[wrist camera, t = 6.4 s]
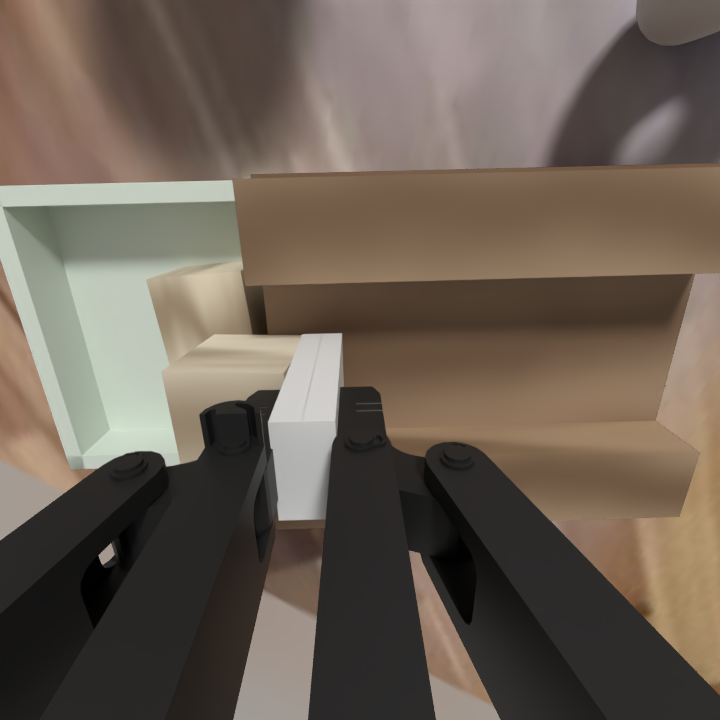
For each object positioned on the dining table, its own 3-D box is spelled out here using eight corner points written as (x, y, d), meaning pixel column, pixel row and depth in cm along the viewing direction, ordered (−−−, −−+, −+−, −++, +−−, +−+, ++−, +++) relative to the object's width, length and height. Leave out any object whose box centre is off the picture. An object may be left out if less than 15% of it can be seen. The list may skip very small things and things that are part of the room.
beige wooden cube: (315, 422, 18) (293, 480, 14) (227, 419, 18) (182, 475, 14) (309, 335, 16) (283, 373, 12) (214, 334, 17) (161, 371, 13)
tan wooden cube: (257, 359, 18) (170, 367, 18) (273, 333, 22) (201, 340, 22) (240, 270, 17) (146, 279, 17) (260, 259, 21) (183, 266, 21)
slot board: (573, 422, 25) (677, 522, 17) (300, 430, 25) (276, 535, 17) (620, 175, 20) (797, 154, 12) (279, 184, 20) (230, 167, 12)
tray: (292, 430, 25) (284, 462, 22) (105, 436, 25) (70, 469, 22) (269, 184, 20) (254, 179, 17) (34, 189, 20) (-24, 186, 17)
